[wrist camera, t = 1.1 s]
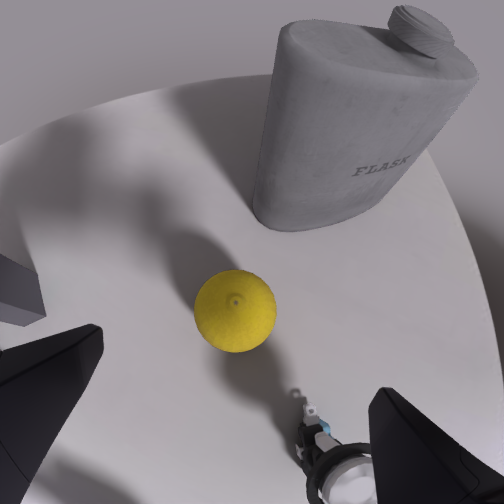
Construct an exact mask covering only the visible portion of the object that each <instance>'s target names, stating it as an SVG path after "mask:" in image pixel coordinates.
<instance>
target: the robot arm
mask: <svg viewBox="0 0 504 504" xmlns="http://www.w3.org/2000/svg"><path fill="white" fill-rule="evenodd" d="M103 351H104V343H103V330H102V328H101V327H99V326H97V325H94V324H87V325H84V326H81V327H78V328H74V329H71V330H68V331H65V332H62V333H59V334H55V335H52V336H49V337H46V338H42V339H39V340H36V341H32V342H29V343H26V344H23V345H19V346H16V347H13V348H9V349H6V350H3V351H0V504H20V503H21V501H22V499H23V497H24V495H25V493H26V491H27V489H28V487H29V486H30V483H31V481H32V479H33V478H34V476H35V474H36V472H37V470H38V468H39V467H40V465H41V463H42V461H43V459H44V458H45V456H46V454H47V452H48V450H49V449H50V447H51V445H52V443H53V442H54V440H55V438H56V437H57V435H58V433H59V432H60V430H61V428H62V426H63V425H64V423H65V422H66V420H67V418H68V417H69V415H70V413H71V412H72V410H73V408H74V407H75V405H76V404H77V402H78V400H79V399H80V397H81V396H82V394H83V392H84V391H85V389H86V387H87V385H88V383H89V381H90V379H91V377H92V375H93V373H94V370H95V368H96V366H97V364H98V362H99V360H100V358H101V356H102V354H103ZM368 414H369V432H370V450H371V457H372V464H373V471H374V479H375V487H376V495H377V504H504V476H502V475H501V474H499V473H498V472H496V471H495V470H493V469H492V468H490V467H489V466H487V465H486V464H485V463H483V462H482V461H480V460H479V459H477V458H476V457H475V456H474V455H472V454H471V453H470V452H468V451H467V450H466V449H465V448H464V447H462V446H461V445H460V446H459V443H457V442H456V441H455V440H454V439H453V438H451V437H450V436H449V435H448V434H447V433H445V432H444V431H443V430H442V429H441V428H439V427H438V426H437V425H436V424H435V423H433V422H432V421H431V420H430V419H429V418H427V417H426V416H425V415H424V414H423V413H421V412H420V411H419V410H418V409H417V408H415V407H414V406H413V405H412V404H411V403H410V402H408V401H407V400H406V399H405V398H404V397H402V396H401V395H400V394H399V393H398V392H396V391H395V390H394V389H393V388H388V387H382V388H380V389H379V390H378V392H377V393H376V395H375V397H374V398H373V400H372V402H371V403H370V405H369V409H368Z"/></svg>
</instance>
